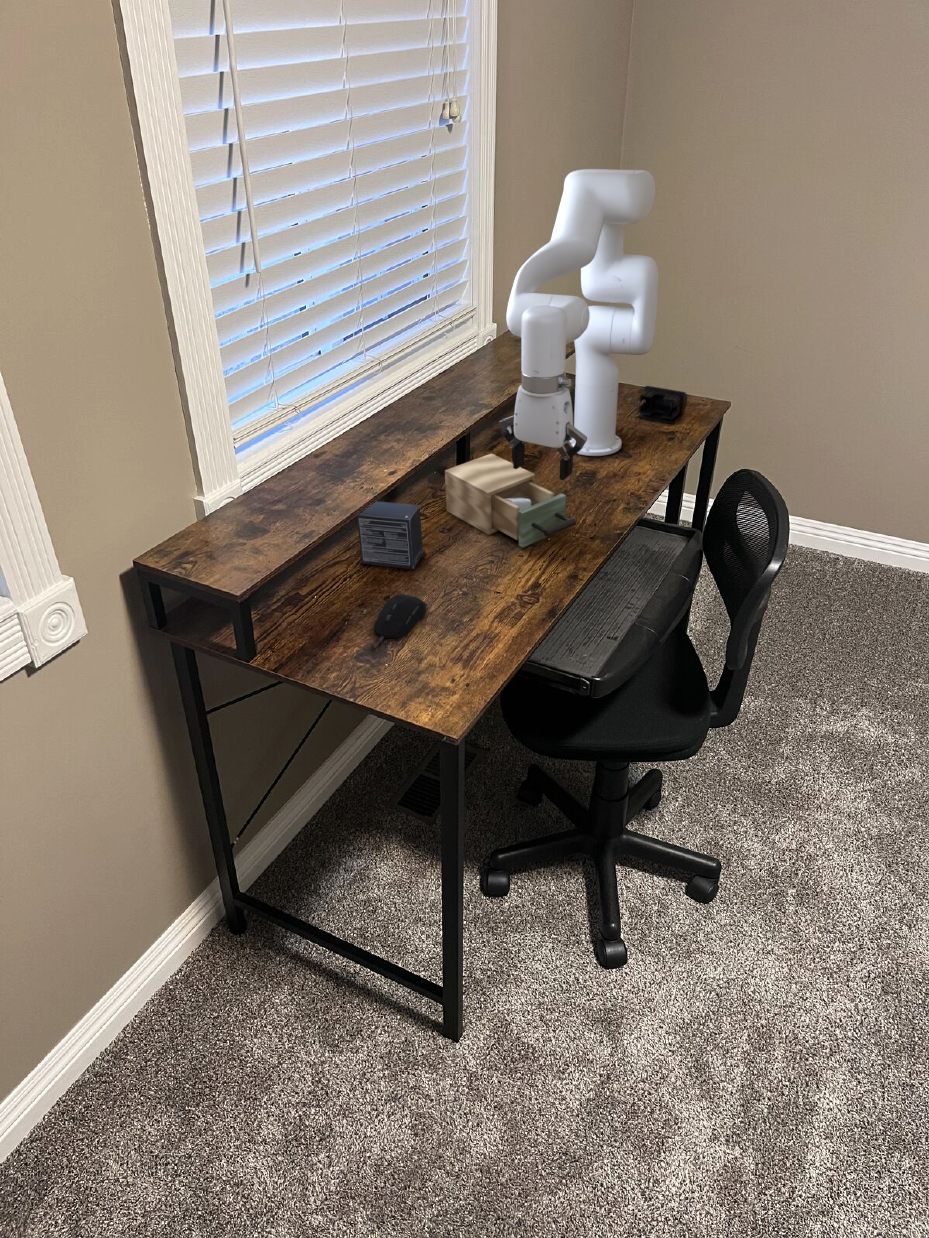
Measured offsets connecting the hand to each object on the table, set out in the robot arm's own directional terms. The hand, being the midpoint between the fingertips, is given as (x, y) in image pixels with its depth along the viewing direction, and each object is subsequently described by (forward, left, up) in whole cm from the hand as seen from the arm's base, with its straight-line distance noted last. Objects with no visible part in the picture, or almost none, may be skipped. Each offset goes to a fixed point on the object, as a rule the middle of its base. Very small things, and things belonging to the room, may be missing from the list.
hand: (541, 471), depth 170 cm
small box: (+15, -24, -15) cm, 32 cm away
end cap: (-69, +9, -15) cm, 71 cm away
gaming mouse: (+35, -14, -15) cm, 41 cm away
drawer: (-2, -2, -14) cm, 14 cm away
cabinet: (-8, -13, -14) cm, 21 cm away
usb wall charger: (-2, -5, -12) cm, 13 cm away
